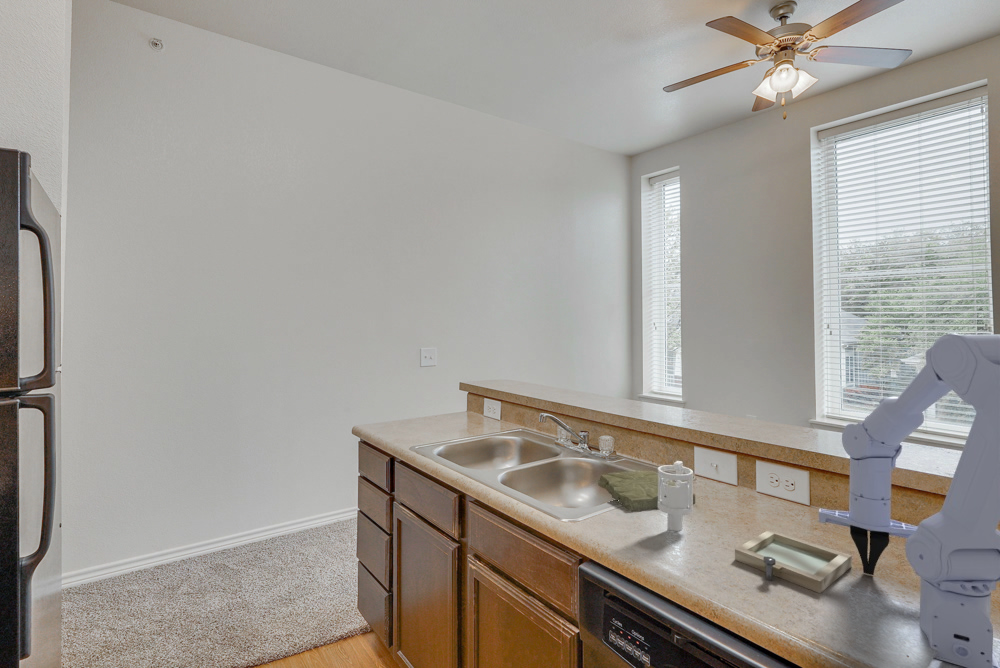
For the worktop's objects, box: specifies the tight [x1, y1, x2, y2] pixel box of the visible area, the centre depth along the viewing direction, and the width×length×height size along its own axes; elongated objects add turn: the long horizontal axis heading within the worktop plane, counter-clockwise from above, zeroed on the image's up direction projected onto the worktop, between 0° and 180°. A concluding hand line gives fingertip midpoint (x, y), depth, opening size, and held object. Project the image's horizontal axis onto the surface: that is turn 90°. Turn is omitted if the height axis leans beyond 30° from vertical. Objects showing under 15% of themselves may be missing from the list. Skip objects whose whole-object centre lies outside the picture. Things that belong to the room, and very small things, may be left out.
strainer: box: [657, 460, 694, 532], centre depth 104 cm, size 7×7×15 cm
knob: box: [763, 557, 776, 582], centre depth 83 cm, size 2×2×5 cm
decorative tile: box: [597, 470, 696, 512], centre depth 129 cm, size 19×20×4 cm
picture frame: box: [734, 528, 853, 594], centre depth 88 cm, size 15×14×2 cm
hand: (868, 571), depth 84 cm, fingers closed
